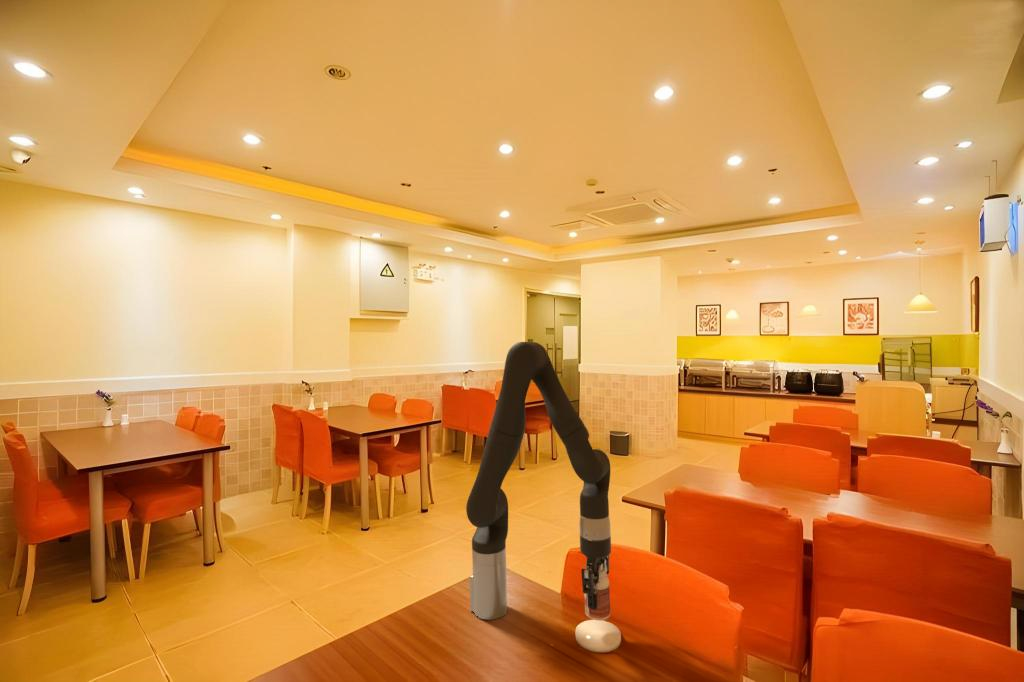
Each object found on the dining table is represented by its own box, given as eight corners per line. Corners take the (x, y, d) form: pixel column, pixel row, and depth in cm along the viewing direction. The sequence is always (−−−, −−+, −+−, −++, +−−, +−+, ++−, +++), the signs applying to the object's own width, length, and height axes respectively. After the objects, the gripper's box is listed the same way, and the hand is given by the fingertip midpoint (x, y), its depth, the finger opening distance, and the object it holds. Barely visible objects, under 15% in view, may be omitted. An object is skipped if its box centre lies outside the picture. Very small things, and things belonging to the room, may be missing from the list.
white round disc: (568, 643, 111) (568, 638, 111) (584, 620, 121) (584, 615, 121) (613, 657, 106) (613, 652, 106) (626, 631, 116) (626, 626, 116)
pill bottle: (615, 615, 113) (614, 570, 113) (597, 624, 109) (596, 577, 110) (597, 604, 118) (596, 560, 118) (579, 612, 115) (578, 567, 115)
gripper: (590, 520, 122) (592, 584, 122) (569, 540, 110) (571, 612, 109) (618, 525, 118) (620, 591, 118) (600, 546, 106) (602, 620, 106)
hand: (597, 601), depth 114 cm, fingers closed on pill bottle, 6 cm apart
